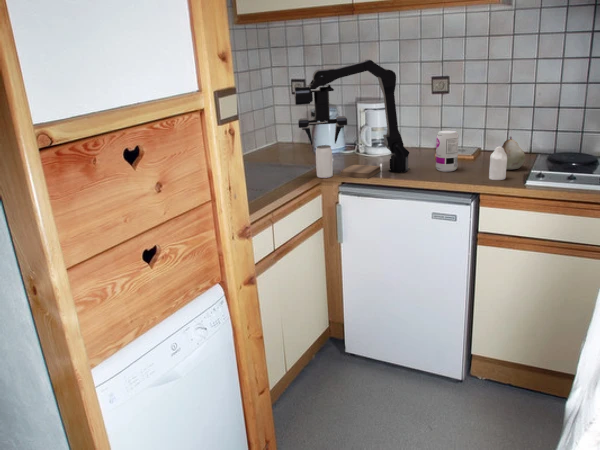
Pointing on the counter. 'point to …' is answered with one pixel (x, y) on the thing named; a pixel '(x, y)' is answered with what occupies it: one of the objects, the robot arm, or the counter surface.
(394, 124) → the robot arm
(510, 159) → the fruit
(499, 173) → the white bottle
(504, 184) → the counter surface
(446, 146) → the supplement can
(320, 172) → the can
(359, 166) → the base
